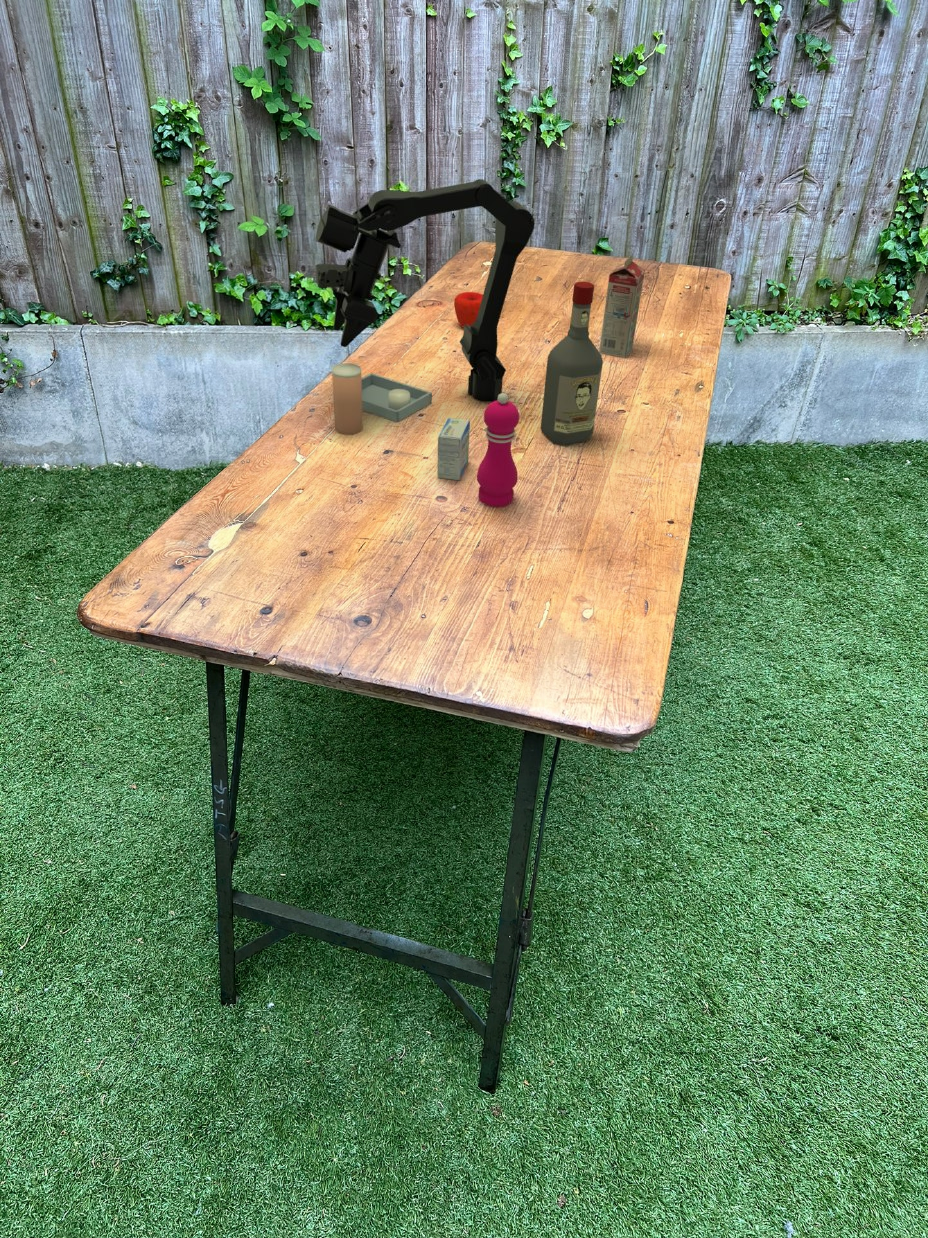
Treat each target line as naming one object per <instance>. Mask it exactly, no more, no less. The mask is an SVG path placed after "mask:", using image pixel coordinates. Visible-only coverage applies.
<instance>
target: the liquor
mask: <svg viewBox="0 0 928 1238" xmlns="http://www.w3.org/2000/svg"><path fill="white" fill-rule="evenodd" d="M594 290H595V285H594V283H592V282H589V281H576V282H574V284H573V292H572V301H571V302H572V308H571V314H570V315H571V316H570V324H569V329H568V331H567V335H566V336H565V337H563V339H561V340H560V341H559V342H558V343H557V344H556V345H554V347H552V348H551V350H550V351H549V354H548V356H547V361H546V363H547V364H546V373H545V382H544V391H543V399H542V400H543V402H542V410H541V420H540V421H541V422H540V431H541V432H542V434H543V435H544V436H545V437H546V438H547V439H548V440H549V441H550V442H552V444H555V445H559V446H565V447H567V446H574V445H579V444H584V443H588V442H589V440H590V439H591V438H592V436H593V434H594V429H595V428H594V426H595V422H596V421H595V420H596V416H597V415H596V414H597V406H598V400H599V399H598V398H599V393H600V385H601V378H602V372H603V363H604V361H603V356H602V354H600V353H599V349H598V348H597V347H596V346H595V344H594V343H593V341H592V340H591V339H590V337H589V336H590V331H589V325H590V317H591V310H592V309H591V308H592V304H593V301H594V300H593V299H594Z"/></svg>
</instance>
